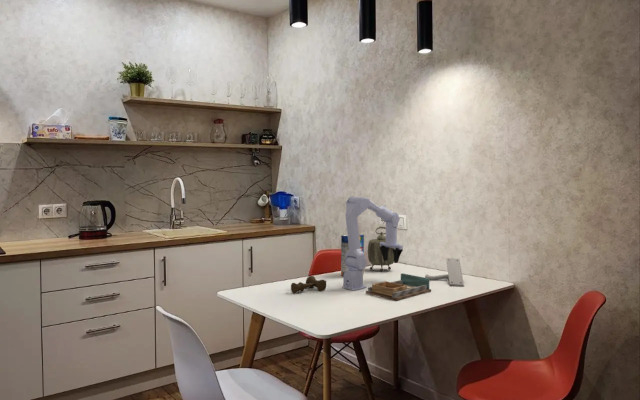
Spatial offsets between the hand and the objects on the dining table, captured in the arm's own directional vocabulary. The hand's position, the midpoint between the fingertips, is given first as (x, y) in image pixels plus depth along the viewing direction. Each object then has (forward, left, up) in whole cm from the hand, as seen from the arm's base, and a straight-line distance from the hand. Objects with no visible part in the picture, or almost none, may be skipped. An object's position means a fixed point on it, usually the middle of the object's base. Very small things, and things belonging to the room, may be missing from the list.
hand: (390, 261), depth 247 cm
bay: (-17, -18, -10) cm, 27 cm away
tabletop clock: (+17, +21, -10) cm, 29 cm away
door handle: (+18, -20, -11) cm, 29 cm away
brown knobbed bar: (-45, +12, -11) cm, 48 cm away
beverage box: (-5, +23, -10) cm, 25 cm away
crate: (-24, -18, -9) cm, 31 cm away
